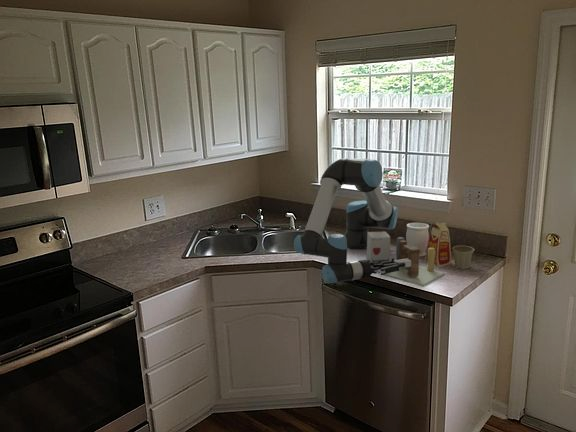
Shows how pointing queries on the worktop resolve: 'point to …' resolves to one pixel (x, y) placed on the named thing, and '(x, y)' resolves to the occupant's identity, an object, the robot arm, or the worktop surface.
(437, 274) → the gate frame
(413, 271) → the gate
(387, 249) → the supplement box
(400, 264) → the robot arm
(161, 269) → the worktop surface
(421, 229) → the jar
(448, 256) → the milk carton
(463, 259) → the flower pot
